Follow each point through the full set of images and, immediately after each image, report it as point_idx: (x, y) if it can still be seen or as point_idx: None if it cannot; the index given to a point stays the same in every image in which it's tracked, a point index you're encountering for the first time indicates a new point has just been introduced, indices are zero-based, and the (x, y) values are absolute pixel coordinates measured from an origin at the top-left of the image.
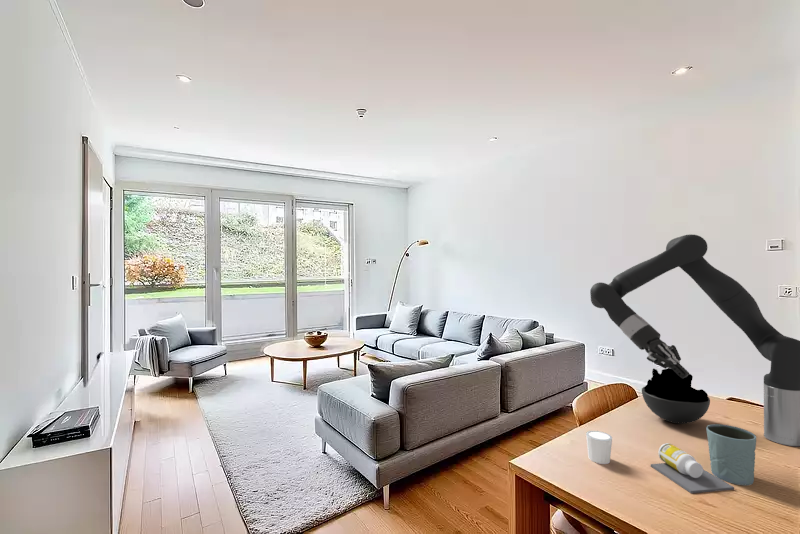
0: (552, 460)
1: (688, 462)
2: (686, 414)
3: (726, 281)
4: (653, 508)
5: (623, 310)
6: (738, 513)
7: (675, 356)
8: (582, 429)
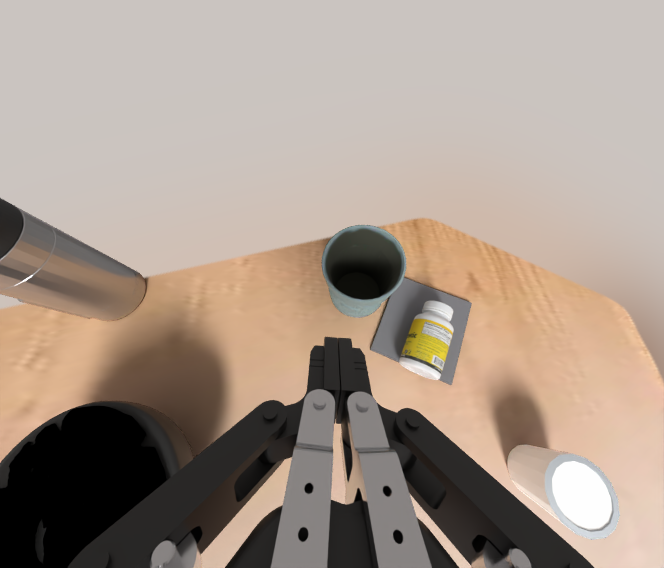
0: (655, 542)
1: (449, 314)
2: (182, 433)
3: None
4: (564, 315)
5: None
6: (457, 253)
7: (262, 450)
8: None
